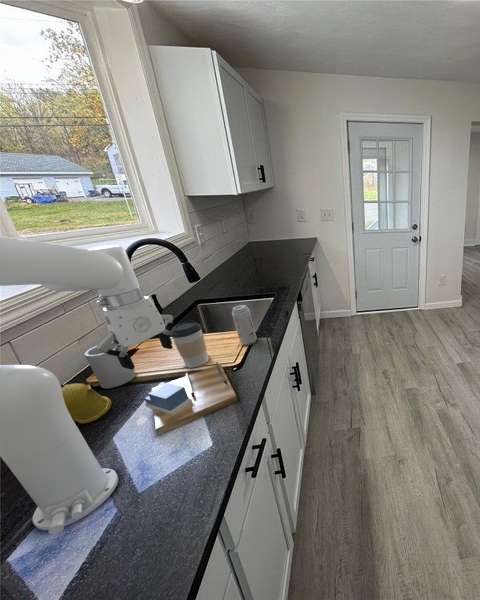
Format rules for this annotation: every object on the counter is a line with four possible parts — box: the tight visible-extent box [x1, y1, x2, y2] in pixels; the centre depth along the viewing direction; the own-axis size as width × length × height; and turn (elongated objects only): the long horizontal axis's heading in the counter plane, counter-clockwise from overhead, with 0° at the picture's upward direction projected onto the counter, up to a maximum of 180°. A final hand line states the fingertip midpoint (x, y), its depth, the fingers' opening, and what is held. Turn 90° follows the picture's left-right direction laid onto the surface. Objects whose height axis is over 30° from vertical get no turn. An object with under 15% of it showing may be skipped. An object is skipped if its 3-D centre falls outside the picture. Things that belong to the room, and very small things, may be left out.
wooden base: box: [151, 361, 238, 436], centre depth 92 cm, size 22×19×4 cm
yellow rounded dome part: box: [60, 382, 112, 425], centre depth 84 cm, size 12×8×15 cm
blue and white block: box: [143, 381, 192, 415], centre depth 86 cm, size 11×6×5 cm, turn 69°
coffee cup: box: [170, 319, 210, 369], centre depth 108 cm, size 9×9×15 cm
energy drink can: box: [231, 304, 258, 346], centre depth 120 cm, size 6×6×15 cm
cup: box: [84, 341, 137, 389], centre depth 102 cm, size 9×9×12 cm
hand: (149, 357), depth 82 cm, fingers open, 9 cm apart
